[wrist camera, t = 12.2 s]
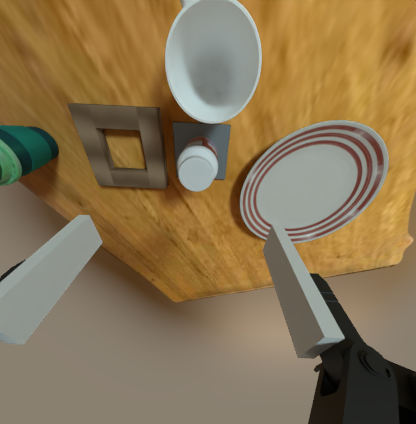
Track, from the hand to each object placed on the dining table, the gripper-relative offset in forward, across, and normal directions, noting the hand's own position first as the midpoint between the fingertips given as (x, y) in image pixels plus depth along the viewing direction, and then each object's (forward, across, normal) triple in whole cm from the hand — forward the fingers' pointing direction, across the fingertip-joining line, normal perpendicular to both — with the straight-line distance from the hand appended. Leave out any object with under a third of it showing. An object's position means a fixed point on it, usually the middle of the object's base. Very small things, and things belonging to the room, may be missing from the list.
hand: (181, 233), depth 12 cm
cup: (+23, -29, +1) cm, 37 cm away
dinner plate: (+23, +22, -7) cm, 33 cm away
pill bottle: (+22, 0, 0) cm, 22 cm away
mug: (+23, +1, +12) cm, 26 cm away
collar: (+23, -14, 0) cm, 27 cm away
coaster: (+23, 0, 0) cm, 23 cm away
